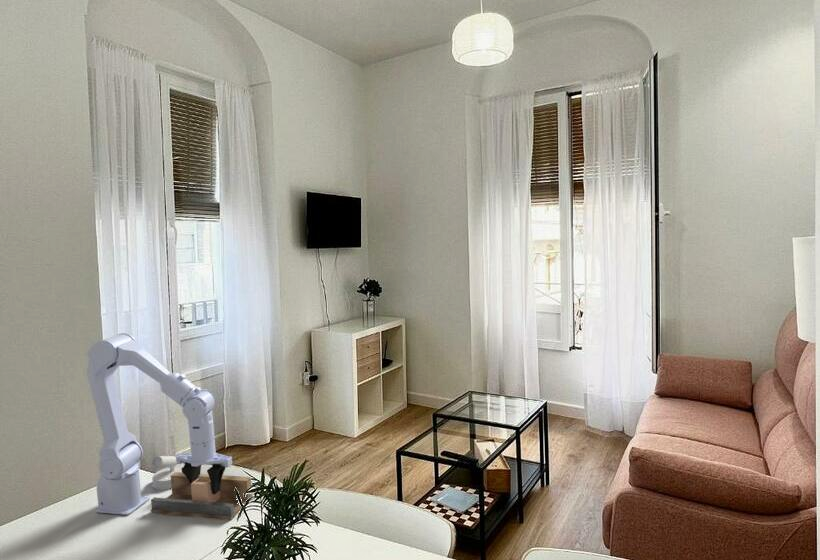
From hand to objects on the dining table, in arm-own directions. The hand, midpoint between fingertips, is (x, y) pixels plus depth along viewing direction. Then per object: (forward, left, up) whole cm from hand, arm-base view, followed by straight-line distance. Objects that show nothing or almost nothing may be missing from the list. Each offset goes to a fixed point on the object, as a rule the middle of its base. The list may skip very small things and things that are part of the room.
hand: (206, 491), depth 130 cm
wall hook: (-18, +9, -4) cm, 20 cm away
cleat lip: (-1, -5, -3) cm, 6 cm away
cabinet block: (0, 0, -3) cm, 3 cm away
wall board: (-1, -1, -4) cm, 4 cm away
